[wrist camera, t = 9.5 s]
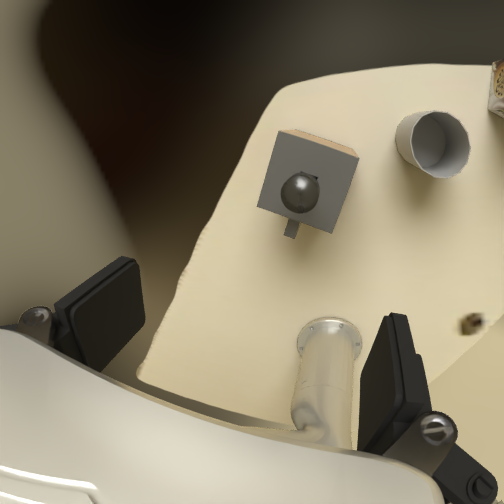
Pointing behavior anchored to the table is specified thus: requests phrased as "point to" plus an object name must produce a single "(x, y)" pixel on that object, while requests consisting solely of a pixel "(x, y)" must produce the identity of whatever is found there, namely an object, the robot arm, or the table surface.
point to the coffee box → (497, 89)
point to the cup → (434, 143)
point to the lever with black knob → (300, 192)
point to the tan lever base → (314, 163)
